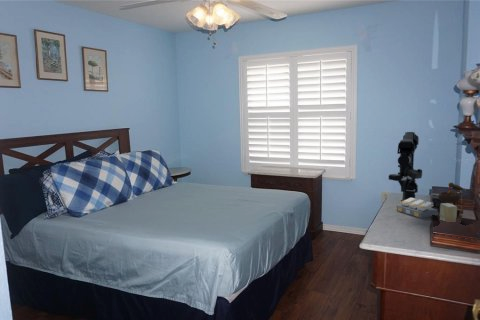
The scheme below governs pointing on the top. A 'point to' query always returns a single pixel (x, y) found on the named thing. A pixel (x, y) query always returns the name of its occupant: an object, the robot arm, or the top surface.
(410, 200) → the rocker left
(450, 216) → the skincare box
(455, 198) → the music box
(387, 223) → the top surface
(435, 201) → the electrical switch
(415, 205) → the rocker middle
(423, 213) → the console
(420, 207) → the rocker right
